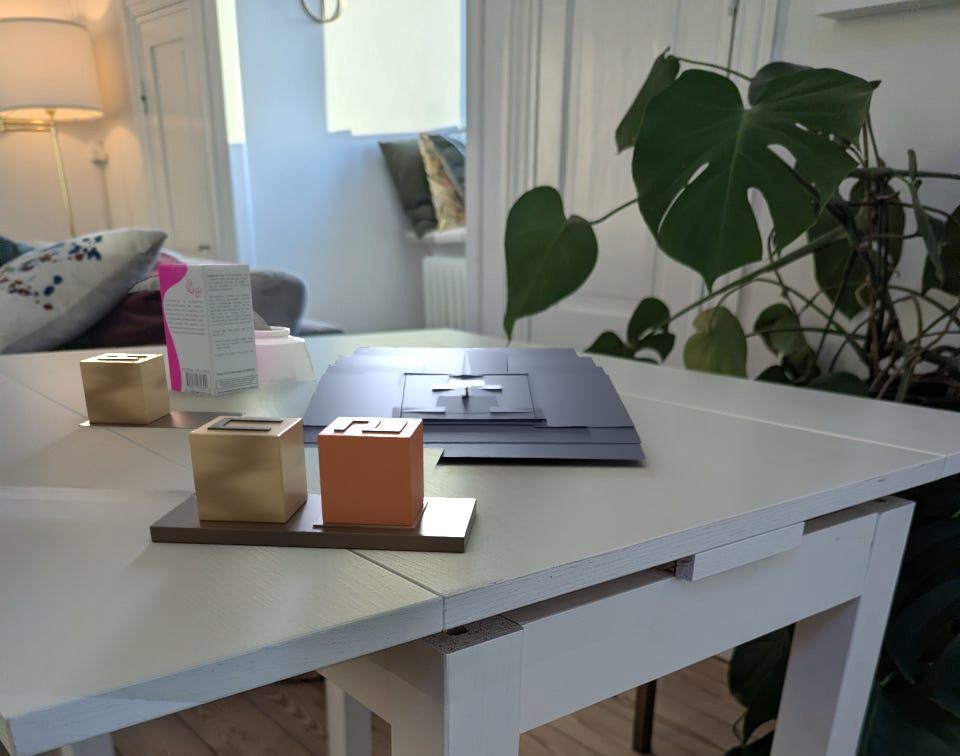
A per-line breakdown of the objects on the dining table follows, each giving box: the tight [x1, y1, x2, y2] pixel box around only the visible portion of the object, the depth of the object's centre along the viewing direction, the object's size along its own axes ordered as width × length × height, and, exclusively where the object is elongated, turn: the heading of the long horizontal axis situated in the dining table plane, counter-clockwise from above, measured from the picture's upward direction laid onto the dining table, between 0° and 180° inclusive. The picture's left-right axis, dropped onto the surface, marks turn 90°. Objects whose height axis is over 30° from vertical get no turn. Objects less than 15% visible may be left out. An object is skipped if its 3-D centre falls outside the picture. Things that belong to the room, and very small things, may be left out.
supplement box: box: [157, 262, 260, 397], centre depth 84 cm, size 6×6×12 cm
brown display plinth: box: [149, 416, 478, 553], centre depth 49 cm, size 16×7×5 cm, turn 85°
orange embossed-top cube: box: [317, 417, 425, 526], centre depth 49 cm, size 5×5×5 cm
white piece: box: [128, 275, 317, 382], centre depth 92 cm, size 9×18×10 cm, turn 90°
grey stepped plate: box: [302, 346, 647, 461], centre depth 76 cm, size 24×30×4 cm
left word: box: [78, 353, 246, 430], centre depth 72 cm, size 11×6×5 cm, turn 85°
